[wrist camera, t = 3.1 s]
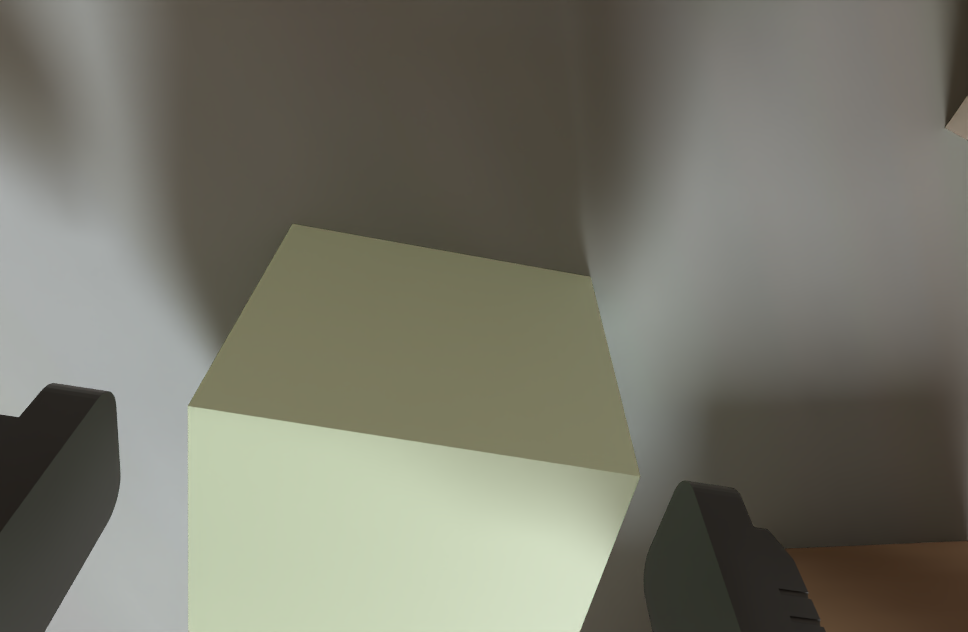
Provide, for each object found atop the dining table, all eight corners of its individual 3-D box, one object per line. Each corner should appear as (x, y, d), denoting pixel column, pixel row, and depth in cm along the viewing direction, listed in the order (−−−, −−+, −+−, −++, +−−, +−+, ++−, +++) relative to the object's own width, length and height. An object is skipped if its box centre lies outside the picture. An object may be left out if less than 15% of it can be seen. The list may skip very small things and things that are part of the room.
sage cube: (590, 274, 13) (639, 476, 9) (525, 492, 15) (539, 734, 11) (293, 221, 12) (187, 406, 8) (276, 454, 15) (187, 691, 11)
